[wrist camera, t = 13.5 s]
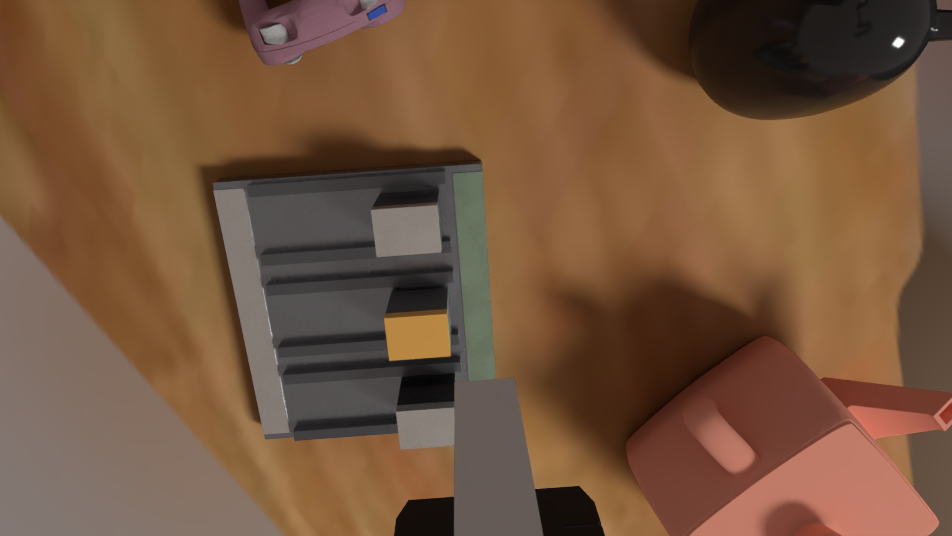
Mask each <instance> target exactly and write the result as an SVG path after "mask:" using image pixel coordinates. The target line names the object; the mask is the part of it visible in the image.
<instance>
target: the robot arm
mask: <svg viewBox="0 0 952 536" xmlns="http://www.w3.org/2000/svg"><path fill="white" fill-rule="evenodd" d="M394 536H605V535H604V531H603V528H602V526H601V522H600V518H599V515H598V512H597V509H596V506H595V502H594V501H593V500H592V499H591V498H590V497H589V496H588V495H587V494H586V493H585V492H584V491H583V490H582V489H581V487H580V486H572V487H559V488H545V489H535V487H534V482H533V476H532V471H531V465H530V460H529V455H528V449H527V444H526V438H525V433H524V427H523V422H522V416H521V411H520V406H519V400H518V395H517V389H516V384H515V378H505V379H491V380H477V381H463V382H454V497H445V498H431V499H418V500H408V502H407V503H406V505H405V506H404V508H403V509H402V511H401V512H400V514H399V515H398V517H397V518H396V525H395V533H394Z"/></svg>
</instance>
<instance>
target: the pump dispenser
mask: <svg viewBox="0 0 952 536" xmlns="http://www.w3.org/2000/svg"><path fill="white" fill-rule="evenodd" d="M951 40H952V10H942V9H937V0H698V1H697V3H696V6H695V9H694V12H693V15H692V19H691V24H690V31H689V53H690V59H691V64H692V67H693V71H694V73H695V76H696V78H697V80H698V82H699V84H700V85H701V87H702V89H703V90H704V91H705V93H706V94H707V95H708V96H709V97H710V98H711V99H712V100H713V101H714V102H715V103H716V104H718V105H719V106H720V107H722V108H723V109H725V110H727V111H729V112H731V113H733V114H736V115H739V116H742V117H746V118H751V119H758V120H783V119H793V118H800V117H806V116H811V115H816V114H820V113H824V112H827V111H831V110H834V109H837V108H840V107H843V106H846V105H849V104H851V103H854V102H857V101H859V100H861V99H864V98H866V97H868V96H870V95H872V94H874V93H876V92H878V91H880V90H881V89H883V88H885V87H886V86H888V85H889V84H891V83H892V82H894V81H895V80H897V79H898V78H899V77H900V76H902V75H903V74H904V73H905V72H906V71H907V70H909V69H910V68H911V67H912V65H913V64H914V63H915V62H916V61H917V59H918V58H919V57H920V55H921V54H922V52H923V51H924V49H925V47H926V46H927V44H928V43H929V42H935V41H951Z"/></svg>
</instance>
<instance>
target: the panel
mask: <svg viewBox="0 0 952 536" xmlns="http://www.w3.org/2000/svg"><path fill="white" fill-rule="evenodd" d="M212 184H213V189H214V190H213V192H214V196H215V201H216V206H217V211H218V216H219V221H220V225H221V230H222V235H223V240H224V245H225V250H226V254H227V259H228V264H229V269H230V274H231V279H232V283H233V288H234V293H235V298H236V303H237V308H238V312H239V317H240V322H241V327H242V332H243V337H244V341H245V346H246V351H247V356H248V361H249V366H250V370H251V375H252V380H253V385H254V390H255V395H256V399H257V404H258V409H259V414H260V419H261V424H262V428H263V433H264V436H265V439H276V438H290V437H294V439H295V441H299V440H312V439H325V438H339V437H352V436H365V435H379V434H392V433H399V441H400V449H415V448H428V447H441V446H454V382H463V381H477V380H491V379H495V363H494V347H493V331H492V315H491V299H490V283H489V267H488V251H487V235H486V219H485V203H484V187H483V171H482V162H481V160H476V161H462V162H448V163H434V164H419V165H405V166H391V167H377V168H363V169H349V170H335V171H321V172H307V173H293V174H279V175H265V176H251V177H237V178H223V179H219V180H217V181H215V182H213V183H212ZM444 287H448V295H449V307H450V318H451V356H449V357H435V358H422V359H408V360H395V361H389V355H388V347H387V339H386V331H385V323H384V317H385V313H386V309H387V306H388V302H389V298H390V295H391V291H403V290H417V289H431V288H444Z"/></svg>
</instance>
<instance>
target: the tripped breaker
mask: <svg viewBox="0 0 952 536" xmlns="http://www.w3.org/2000/svg"><path fill="white" fill-rule="evenodd" d="M384 323H385V331H386V339H387V347H388V355H389V361H395V360H408V359H422V358H435V357H449V356H451V318H450V307H449V295H448V287H444V288H431V289H417V290H403V291H391V295H390V298H389V302H388V306H387V309H386V313H385V317H384Z"/></svg>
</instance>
